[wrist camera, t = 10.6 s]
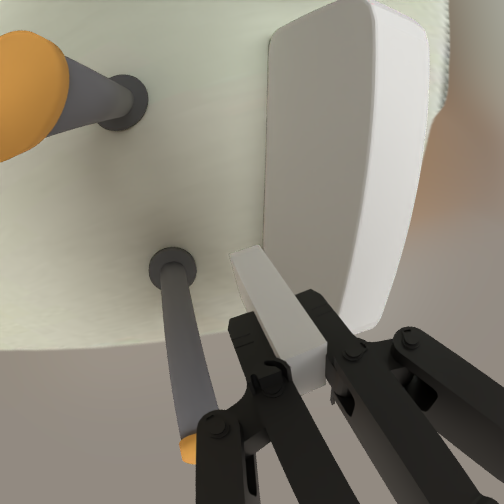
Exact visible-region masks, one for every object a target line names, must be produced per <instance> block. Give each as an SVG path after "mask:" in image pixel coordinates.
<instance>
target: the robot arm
mask: <svg viewBox="0 0 504 504" xmlns="http://www.w3.org/2000/svg"><path fill="white" fill-rule="evenodd" d="M229 257H230V260H231V264H232V268H233V271H234V275H235V279H236V282H237V286H238V289H239V293H240V297H241V299H242V301H243V303H244V306H245V308H246V310H247V312H248V313H245V314H243V315H240V316H237V317H234V318H231V319H230V320H229V326H228V331H229V334H230V337H231V340H232V342H233V345H234V348H235V351H236V353H237V356H238V359H239V361H240V364H241V367H242V370H243V372H244V375H245V377H246V381H247V389H246V392H245V394H244V396H243V397H242V399H240V400H239V401H238V402H237V403H236V404H234V405H233V406H231V407H230V408H229V409H227V410H218V409H217V410H213V411H210V412H208V413H207V414H205V415H203V416H202V418H201V419H200V420H199V422H198V425H197V430H196V504H260V495H259V484H258V473H257V462H256V452H257V451H259V450H260V449H261V448H263V447H264V446H265V445H267V444H268V443H269V442H272V444H273V447H274V449H275V452H276V454H277V456H278V458H279V461H280V463H281V465H282V467H283V470H284V472H285V474H286V476H287V478H288V481H289V483H290V485H291V487H292V489H293V492H294V494H295V496H296V498H297V500H298V502H299V504H360V503H359V502H358V500H357V498H356V496H355V495H354V493H353V491H352V489H351V488H350V486H349V484H348V482H347V480H346V479H345V477H344V475H343V473H342V471H341V470H340V468H339V466H338V464H337V463H336V461H335V459H334V457H333V455H332V453H331V452H330V450H329V448H328V446H327V444H326V442H325V441H324V439H323V437H322V435H321V433H320V431H319V430H318V428H317V426H316V424H315V422H314V420H313V419H312V416H311V415H310V413H309V411H308V409H307V407H306V405H305V403H304V401H303V400H302V398H301V396H302V395H304V394H306V393H309V392H311V391H313V390H315V389H318V388H320V387H322V386H324V385H325V384H326V379H327V381H328V382H329V384H330V385H331V387H332V389H331V399H330V400H331V403H332V405H333V404H335V401H336V403H337V404H338V406H339V408H340V409H341V411H342V413H343V415H344V416H345V418H346V420H347V421H348V423H349V424H350V426H351V428H352V429H353V431H354V433H355V434H356V436H357V438H358V439H359V441H360V443H361V444H362V446H363V448H364V449H365V451H366V453H367V454H368V456H369V458H370V459H371V461H372V463H373V464H374V466H375V467H376V469H377V471H378V472H379V474H380V476H381V477H382V479H383V481H384V482H385V484H386V486H387V487H388V489H389V490H390V492H391V494H392V495H393V497H394V499H395V500H396V502H397V504H498V503H497V501H495V500H494V499H492V498H489V497H486V496H483V495H482V494H480V493H479V491H478V490H477V488H476V487H475V485H474V484H473V482H472V481H471V480H470V478H469V477H468V475H467V474H466V472H465V471H464V469H463V468H462V466H461V465H460V463H459V462H458V461H457V459H456V458H455V456H454V455H453V454H452V452H451V451H450V449H449V448H448V447H447V445H446V444H445V443H444V441H443V440H442V438H441V437H440V435H439V434H441V435H442V436H443V437H444V438H446V439H447V440H448V441H449V442H451V443H452V444H453V445H454V446H456V447H457V448H458V449H460V450H461V451H462V452H463V453H465V454H466V455H467V456H469V457H470V458H471V459H472V460H474V461H475V462H476V463H477V464H479V465H480V466H482V467H483V468H484V469H485V470H487V471H488V472H489V473H491V474H492V475H493V476H494V477H496V478H497V479H498V480H500V481H501V482H503V483H504V387H502V386H501V385H499V384H498V383H497V382H495V381H494V380H492V379H491V378H490V377H488V376H487V375H486V374H484V373H483V372H481V371H480V370H478V369H477V368H476V367H474V366H473V365H471V364H470V363H468V362H467V361H466V360H464V359H463V358H461V357H460V356H459V355H457V354H456V353H454V352H453V351H451V350H450V349H448V348H447V347H445V346H444V345H443V344H441V343H439V342H438V341H437V340H435V339H434V338H432V337H431V336H429V335H428V334H426V333H425V332H423V331H422V330H420V329H418V328H415V327H404V328H401V329H400V330H398V331H397V332H396V334H395V335H394V337H393V339H389V340H384V341H379V342H366V341H365V340H363V339H360V338H357V337H355V336H354V335H353V334H352V332H351V331H350V330H349V329H348V327H347V326H346V325H345V323H344V322H343V321H342V320H341V318H340V317H339V316H338V315H337V313H336V312H335V311H333V308H332V307H331V306H330V305H329V304H328V302H327V301H326V300H325V298H324V297H323V296H322V295H321V294H320V293H318V292H316V291H314V290H312V289H309V290H306V291H303V292H301V293H298V294H295V295H294V294H293V292H292V291H291V289H290V288H289V287H288V285H287V284H286V282H285V281H284V279H283V278H282V277H281V275H280V274H279V272H278V271H277V269H276V268H275V266H274V265H273V264H272V262H271V261H270V259H269V258H268V257H267V255H266V254H265V252H264V251H263V249H262V248H261V247H260V245H259V244H257V245H254V246H251V247H248V248H245V249H242V250H239V251H236V252H233V253H230V254H229ZM437 432H438V433H439V434H438V433H437Z"/></svg>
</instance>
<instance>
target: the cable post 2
mask: <svg viewBox="0 0 504 504" xmlns="http://www.w3.org/2000/svg"><path fill="white" fill-rule="evenodd" d="M196 273H197V269H196V265H195V261H194V259H193V257H192V256H191V254H190V253H188V252H187V251H185V250H184V249H181V248H176V247H170V248H165V249H162V250H160V251H159V252H157V253H156V254H155V255H154V256H153V257H152V259H151V261H150V264H149V276H150V279H151V281H152V283H153V284H154V285H155V286H156V287H157V288H159V289H160V290H161V295H162V308H163V320H164V330H165V340H166V348H167V357H168V364H169V372H170V379H171V386H172V393H173V399H174V405H175V411H176V416H177V421H178V427H179V432H180V436H181V441H180V443H179V446H180V451H181V455H182V460H183V461H184V462H186V463H189V464H196V430H197V425H198V422H199V420H200V419H201V418H202V416H203V415H205V414H207V413H208V412H210V411H213V410H217V409H218V410H219V408H218V405H217V401H216V398H215V394H214V391H213V387H212V383H211V380H210V376H209V372H208V369H207V365H206V361H205V357H204V353H203V349H202V344H201V340H200V336H199V332H198V328H197V323H196V319H195V314H194V310H193V305H192V300H191V296H190V291H189V286H190V285H191V284H192V283H193V281H194V280H195V277H196Z"/></svg>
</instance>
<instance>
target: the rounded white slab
mask: <svg viewBox="0 0 504 504" xmlns="http://www.w3.org/2000/svg"><path fill="white" fill-rule="evenodd" d="M429 76H430V53H429V42H428V39H427V35H426V32H425V29H424V28H423V27H422V26H421V25H420V24H419V23H418V22H417V21H415V20H414V19H412V18H411V17H409V16H407V15H405V14H403V13H401V12H399V11H397V10H395V9H393V8H391V7H388V6H386V5H384V4H382V3H379V2H377V1H375V0H338V1H335V2H333V3H331V4H328V5H326V6H324V7H321V8H319V9H317V10H315V11H312V12H310V13H308V14H306V15H304V16H302V17H300V18H298V19H296V20H294V21H292V22H290V23H288V24H286V25H284V26H282V27H280V28H279V29H277V30H276V31H275V32H274V34H273V35H272V38H271V41H270V44H269V53H268V94H267V133H266V166H265V197H264V225H263V249H264V252H265V254H266V255H267V257H268V258H269V259H270V261H271V262H272V264H273V265H274V266H275V268H276V269H277V271H278V272H279V274H280V275H281V277H282V278H283V279H284V281H285V282H286V284H287V285H288V287H289V288H290V289H291V291H292V292H293V294H294V295H295V294H298V293H301V292H303V291H306V290H309V289H312V290H314V291H316V292H318V293H320V294H321V295H322V296H323V297H324V298H325V300H326V301H327V302H328V304H329V305H330V306H331V307H332V308H333V311H335V312H336V313H337V315H338V316H339V317H340V318H341V320H342V321H343V322H344V323H345V325H346V326H347V327H348V329H349V330H350V331H351V332H352V334H353V335H354V334H357V333H360V332H363V331H366V330H369V329H372V328H374V327H375V325H376V324H377V323H378V321H379V320H380V318H381V315H382V313H383V310H384V307H385V304H386V302H387V298H388V296H389V293H390V290H391V287H392V284H393V281H394V278H395V275H396V271H397V268H398V265H399V261H400V257H401V255H402V251H403V247H404V244H405V240H406V236H407V232H408V228H409V224H410V220H411V216H412V211H413V207H414V202H415V197H416V192H417V187H418V182H419V176H420V170H421V164H422V157H423V150H424V143H425V135H426V125H427V114H428V100H429Z"/></svg>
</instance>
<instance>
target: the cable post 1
mask: <svg viewBox="0 0 504 504" xmlns="http://www.w3.org/2000/svg"><path fill="white" fill-rule="evenodd" d="M147 105H148V93H147V90H146V88H145V86H144V85H143V83H142V82H141V81H140V80H138V79H137V78H135V77H133V76H130V75H116V76H113V77H111V78H107V77H105V76H103V75H101V74H99V73H97V72H96V71H94V70H92V69H90V68H88V67H86V66H84V65H82V64H80V63H78V62H76V61H74V60H72V59H70V58H68V57H66V56H64V54H63V53H62V51H61V50H60V49H59V48H58V46H57V45H55V44H54V43H52V42H51V41H49V40H47V39H45V38H43V37H41V36H39V35H37V34H35V33H33V32H30V31H13V32H9V33H6V34H4V35H2V36H0V162H3V161H6V160H8V159H10V158H12V157H14V156H17V155H19V154H21V153H23V152H26V151H28V150H30V149H31V148H33V147H35V146H36V145H37V144H39V143H40V142H41V141H42V140H43V139H44V138H46V137H49V136H52V135H55V134H58V133H61V132H65V131H68V130H71V129H75V128H78V127H82V126H86V125H89V124H93V123H98V124H99V125H100V126H102V127H103V128H105V129H108V130H113V131H119V130H124V129H127V128H129V127H131V126H133V125H134V124H136V123H137V122H138V121H139V120H140V119H141V118H142V116H143V115H144V113H145V111H146V109H147Z"/></svg>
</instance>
